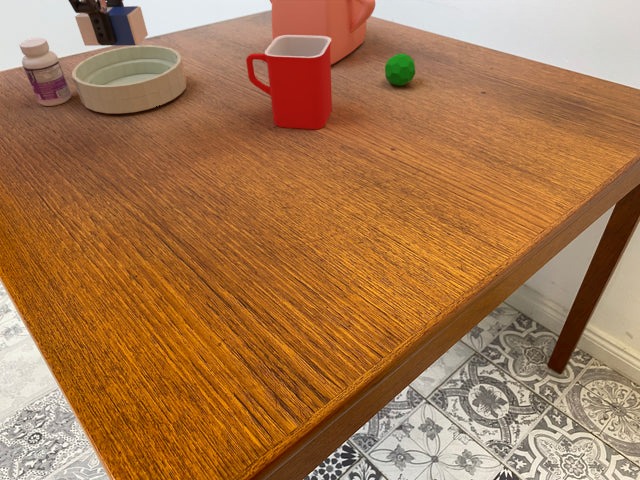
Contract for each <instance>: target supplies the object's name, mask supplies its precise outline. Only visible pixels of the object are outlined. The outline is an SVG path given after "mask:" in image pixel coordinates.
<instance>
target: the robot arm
mask: <svg viewBox="0 0 640 480" xmlns="http://www.w3.org/2000/svg"><path fill="white" fill-rule="evenodd" d="M67 1H68V2H69V4H70V6H71V8H72V9H73V11H74V12H75V13H76V14H80V13H85V14H88V16H89V17H90V20H91V23H92V26H93V29H94V32H95V36H96V39H97V41H98V43H99V44H100V45H99V46H101V47H103V46H104V47H105V46H106V47H107V46H111V45H114V44H115V43H116V42H117V39H116V35H115V32H114V29H113V25H112V22H111V19H110V15H109V12H107V7H125V4H124V0H67Z"/></svg>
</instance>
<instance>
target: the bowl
mask: <svg viewBox="0 0 640 480" xmlns="http://www.w3.org/2000/svg"><path fill="white" fill-rule="evenodd" d="M183 62H184V61H183V58H182V55H181V54H180V52H179V51H178V50H175V49H174V48H170V47H167V46H164V45H163V46H162V45H155V44H148V45H146V44H143V45H140V44H139V45H128V46H124V47H123V46H122V47H117V48H114V49H109V50H106V51H102V52H99V53H96V54H94V55H91V56H89V57H88V58H85V59H84V60H82V61H80V62H79V63H77V65H75V67H74V68H73V70H72V71H71V75H72V80H73V82H74V86H75V88H76V91H77V94H78V97H79V99H80V102H81V104H82V105H83V106H84V107H85V108H86V109H89V110H91V111H93V112H96V113H97V112H98V113H103V114H130V113H137V112H144V111H147V110H151V109H154V108H157V107H159V105H160V106H162V105H165V104H167V103H169V102H171V101H173V100H175V99H176V98H178V96H180V95H182V94H183V93H184V91H185V90H186V88H187V84H188V80H187V77H186V72H185V67H184V63H183ZM156 106H157V107H156Z"/></svg>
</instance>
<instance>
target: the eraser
mask: <svg viewBox="0 0 640 480" xmlns="http://www.w3.org/2000/svg"><path fill="white" fill-rule="evenodd" d="M107 12H109V15H110V19H111V22H112V25H113V29H114V32H115V35H116V39H117V42H116V43H115V44H114V45H110V46H111V47H115V46H116V47H117V46H118V47H119V46H122V47H123V46H124V47H127V46H139V45H140V43H141V42H142V41H143V40H145V39H146V38H147V37H148V36H149V34H148V30H147V26H146V22H145V19H144V14H143V11H142V7H141V6H138V5H131V6H128V5H127V6H126V5H125V6H124V7H107ZM74 18H75V21H76V24H77V27H78V30H79V33H80V35H81V38H82V42H83V44H84V46H87V47H90V46H93V47H95V46H101V45H100V44H99V43H98V41H97V39H96V36H95V32H94V29H93V26H92V23H91V20H90V17H89V16H88V14H85V13H77V15H76V16H74Z"/></svg>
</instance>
